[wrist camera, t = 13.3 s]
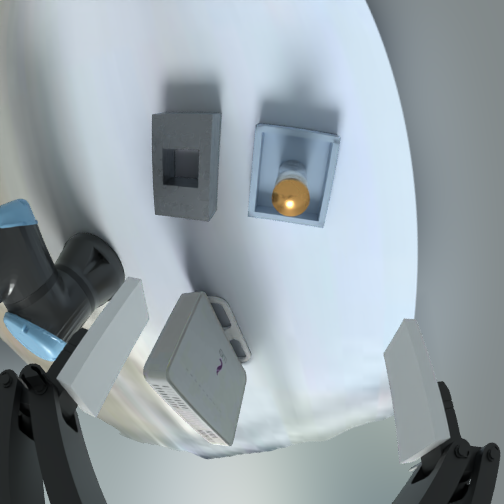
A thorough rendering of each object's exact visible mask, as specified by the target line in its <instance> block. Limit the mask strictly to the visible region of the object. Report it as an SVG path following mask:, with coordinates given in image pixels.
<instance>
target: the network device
mask: <svg viewBox="0 0 504 504" xmlns="http://www.w3.org/2000/svg"><path fill="white" fill-rule="evenodd" d="M211 303H218V304H220V305H222V306H223V308H224V310H225V312H226V314H227V316H228V319H229V321H230V323H231V326H229V327H222V326H221V324H220V322H219V320H218V318H217V316H216V314H215V312H214V309H213V307H212V305H211ZM232 339H236V340H238V341H239V342H240V344H241V346H242V348H243V350H244V352H245V354H246V356H245V357H237V355H236V353H235V351H234V349H233V347H232V345H231V344H230V340H232ZM250 357H251V352H250V350H249V348H248V346H247V343H246V341H245V339H244V337H243V335H242V333H241V330H240V328H239V326H238V324H237V321H236V319H235V317H234V315H233V312H232V310H231V308H230V306H229V304H228V303H227V302H226V301H225V300H224V299H222V298H219V297H216V296H207V295H206V293H205V292H204V291H200V292H192V293H184V294H182V295H181V296H180V298H179V300H178V302H177V303H176V305H175V307H174V309H173V311H172V313H171V315H170V317H169V318H168V320H167V322H166V324H165V326H164V328H163V330H162V332H161V334H160V336H159V338H158V340H157V342H156V344H155V346H154V348H153V349H152V351H151V353H150V355H149V357H148V359H147V361H146V363H145V366H144V370H143V373H144V378H145V380H146V381H147V382H148V383H149V385H150V386H151V387H152V388H153V389H154V390H155V391H156V392H157V393H158V394H159V395H160V396H161V397H162V398H163V400H164V401H165V402H166V403H167V404H168V405H169V406H170V407H171V408H172V409H173V410H174V411H175V412H176V413H177V414H178V415H179V416H180V417H182V418H183V419H184V420H185V421H186V422H187V423H188V424H189V425H190V426H191V427H192V428H193V429H194V430H195V431H197V432H198V433H199V434H200V435H201V436H202V437H203V438H205V439H206V440H207V441H208V442H209V443H210V444H214V445H224V446H231V445H232V444H233V440H234V436H235V431H236V427H237V422H238V418H239V413H240V408H241V404H242V399H243V394H244V390H245V385H246V372H245V370H244V368H243V366H242V365H241V363H244V362H247V361H248V360H249V359H250Z"/></svg>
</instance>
